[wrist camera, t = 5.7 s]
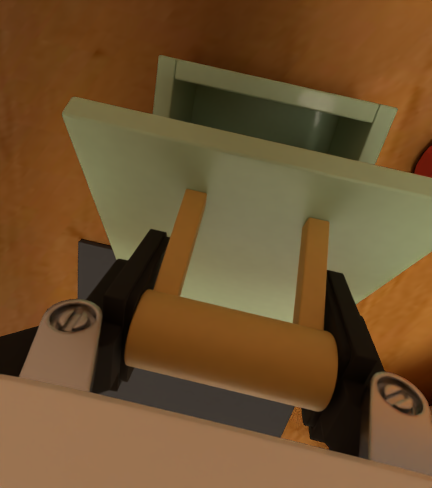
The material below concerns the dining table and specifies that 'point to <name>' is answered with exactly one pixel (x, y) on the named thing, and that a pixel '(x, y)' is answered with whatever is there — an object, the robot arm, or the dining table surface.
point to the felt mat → (175, 389)
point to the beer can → (425, 164)
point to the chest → (271, 110)
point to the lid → (244, 245)
